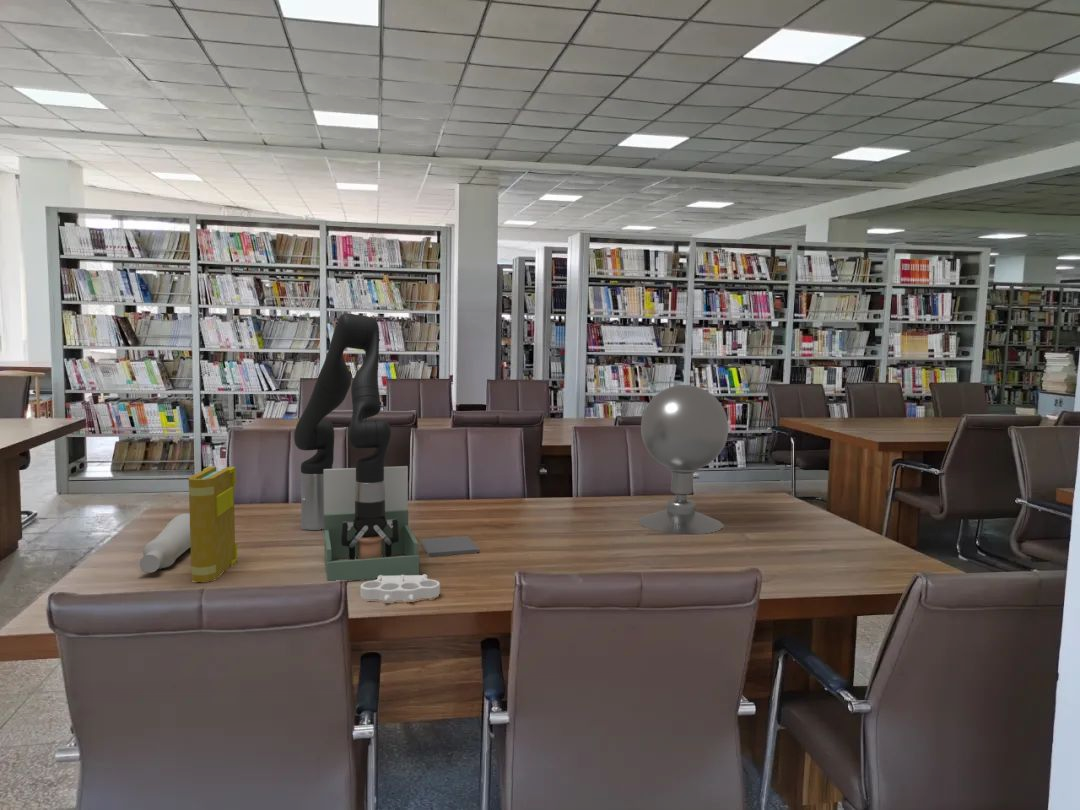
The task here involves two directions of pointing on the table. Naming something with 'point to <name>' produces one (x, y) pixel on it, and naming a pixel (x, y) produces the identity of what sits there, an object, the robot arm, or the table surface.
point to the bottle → (167, 545)
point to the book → (212, 523)
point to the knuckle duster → (400, 588)
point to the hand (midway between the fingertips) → (370, 559)
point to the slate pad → (449, 545)
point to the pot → (370, 547)
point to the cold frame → (343, 509)
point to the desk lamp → (683, 452)
